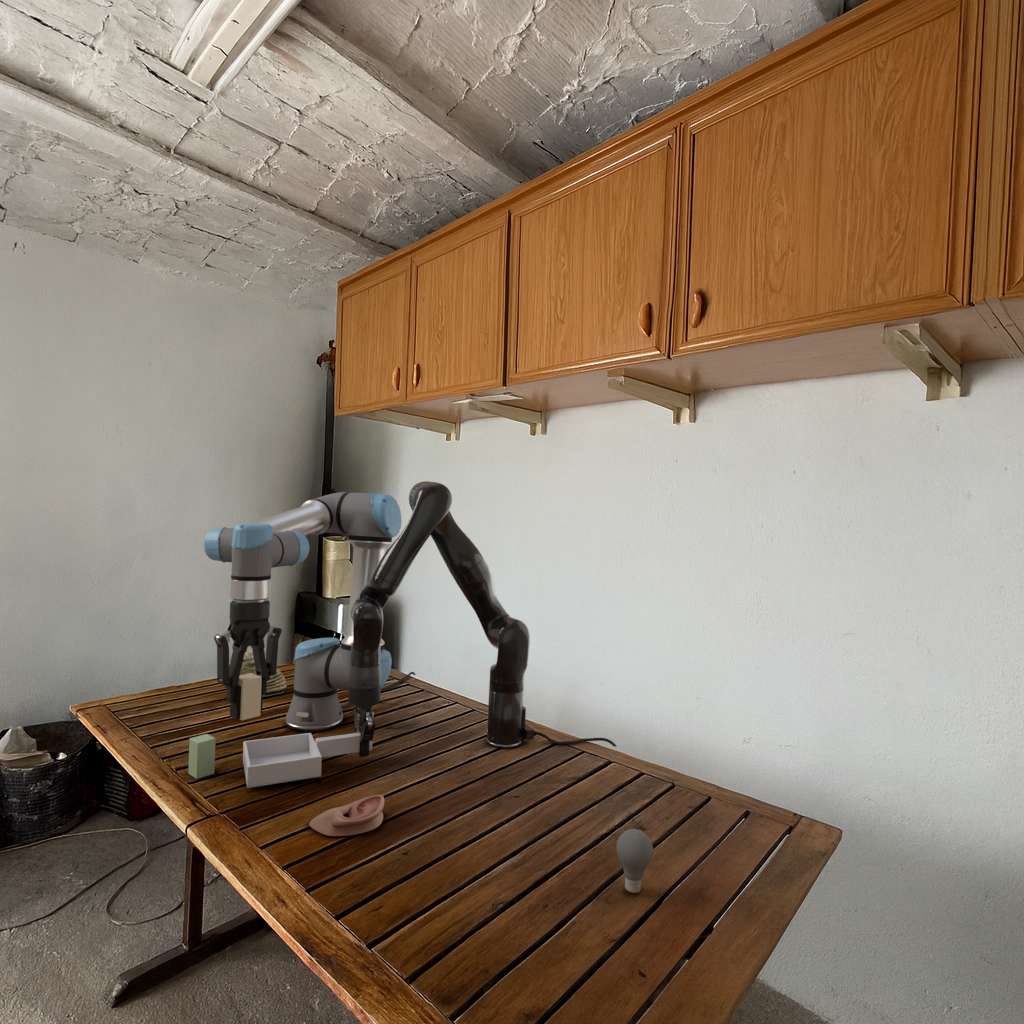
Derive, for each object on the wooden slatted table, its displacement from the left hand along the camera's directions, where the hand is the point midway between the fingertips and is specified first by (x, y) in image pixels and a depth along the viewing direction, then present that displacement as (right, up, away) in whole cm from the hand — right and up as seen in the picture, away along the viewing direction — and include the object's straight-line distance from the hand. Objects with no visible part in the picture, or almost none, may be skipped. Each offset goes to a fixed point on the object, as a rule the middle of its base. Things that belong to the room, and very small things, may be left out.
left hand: (246, 714), depth 129 cm
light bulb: (+74, -22, -23) cm, 81 cm away
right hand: (+18, -17, +24) cm, 34 cm away
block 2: (0, 0, 0) cm, 0 cm away
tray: (+7, -17, +19) cm, 26 cm away
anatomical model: (+22, -20, -5) cm, 30 cm away
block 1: (-16, -18, +14) cm, 27 cm away
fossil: (-27, -16, +69) cm, 76 cm away
